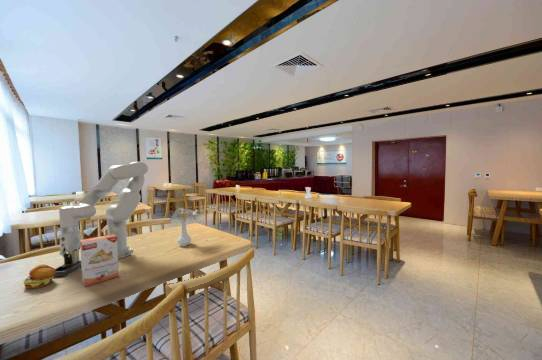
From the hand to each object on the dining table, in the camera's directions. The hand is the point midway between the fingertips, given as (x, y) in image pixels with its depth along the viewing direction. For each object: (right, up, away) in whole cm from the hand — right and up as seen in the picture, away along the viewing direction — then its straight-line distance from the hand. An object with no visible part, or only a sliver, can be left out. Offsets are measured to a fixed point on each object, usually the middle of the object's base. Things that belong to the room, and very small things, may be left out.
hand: (72, 261), depth 130 cm
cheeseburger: (0, -5, -17) cm, 18 cm away
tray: (0, -4, -3) cm, 5 cm away
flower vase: (+48, -1, +36) cm, 60 cm away
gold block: (0, -2, 0) cm, 2 cm away
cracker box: (+25, -4, -14) cm, 29 cm away
